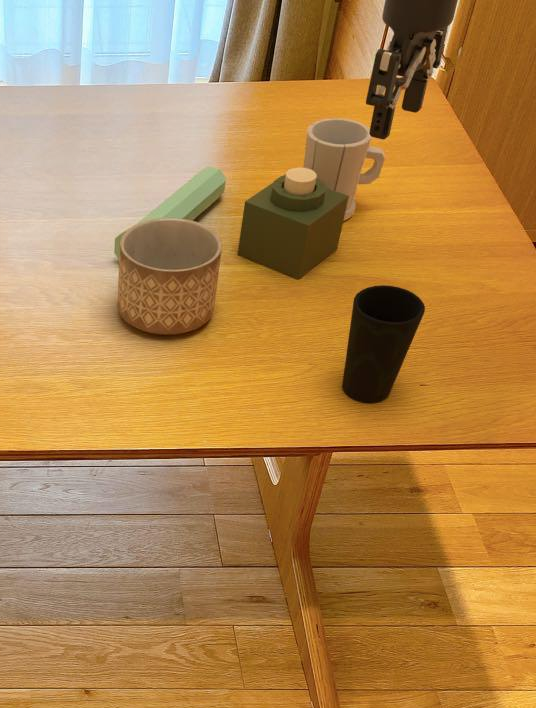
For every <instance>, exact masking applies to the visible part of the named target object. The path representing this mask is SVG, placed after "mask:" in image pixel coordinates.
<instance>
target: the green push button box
mask: <svg viewBox="0 0 536 708" xmlns="http://www.w3.org/2000/svg"><path fill="white" fill-rule="evenodd" d="M285 176H286V173H285V174H283V175H280V176H278V178H276V179H275V180H273V182H271V183H270V184H269V185H267V186H266V187H264V188H263V189H261V190H260V191H258V192H257V193H255V194H253V195H252V196H250V197H249V198H248V199H246V200H245V201H244V204H243V205H244V206H243V212H242V220H241V226H240V234H239V241H238V248H237V256H239V257H242V258H244V259H247V260H250V261H252V262H255V263H257V264H259V265H262V266H263V267H266V268H269V269H271V270H274V271H276V272H278V273H282V274H283V275H286V276H288V277H291V278H293V279H296V280H300V279H301V278H302V277H304V276H305V275H306V274H307V273H309V272H310V271H312V270H313V269H314V268H315V267H317V266H318V265H319V264H321V263H322V262H323V261H324V260H326V259H327V258H329V256H331V255H332V254H333V253H335V252H336V251H337V250H338V247H339V243H340V239H341V233H342V229H343V226H344V225H343V224H344V222H345V221H344V216H345V212H346V207H347V203H348V198H349V196H347V195H344V194H341V193H339V192H336V191H333V190H330V189H327V188H326V185H325V184H324V183H323V182H322V181H321V180H320V179H318V178H316V182H315V187H314V191H313V193H311V194H306V195H295V194H291V193H289V192H286V191H285V190H284V182H285Z"/></svg>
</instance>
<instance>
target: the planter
mask: <svg viewBox="0 0 536 708" xmlns="http://www.w3.org/2000/svg"><path fill="white" fill-rule="evenodd" d="M138 223H139V222H138ZM138 223H136V224H134V225H133V226H131V227H129V229H128V228H127V229H128V230H127V229H126V230H127V231H126V232H125V233H124V234H123V236H122V238H121V241H120V258H119V259H118V261H119V262H118V282H117V304H116V307H117V311H118V313H119V315H120V316H121V318H122V319H123V320H124V321H125V322H126V323H127V324H128V325H130V326H132V327H133V328H135V329H137V330H140V331H143V332H147V333H150V334H155V335H179V334H184V333H189V332H191V331H194V330H197V329H199V328H201V327H202V326H204V325H205V324H206V323H207V322H209V320H210V319H211V317H212V316H213V314H214V310H215V305H216V304H215V303H216V295H217V290H218V289H217V288H218V282H219V274H220V273H219V272H220V264H221V258H222V257H221V256H222V251H223V250H222V249H223V242H222V239H221V238H220V236H219V235H218V233H217V232H216V231H214V230H213V229H212V228H210V227H208V226H207V225H205V224H203V223H200V222H197V221H194V220H193V221H191V220H187V219H180V218H159V219H152V220H148V221H144V222H141V223H139V224H138Z"/></svg>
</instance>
